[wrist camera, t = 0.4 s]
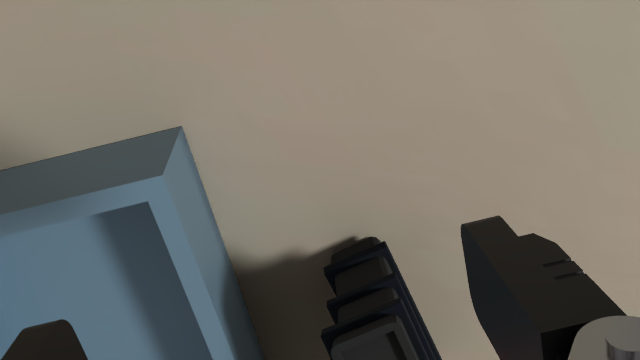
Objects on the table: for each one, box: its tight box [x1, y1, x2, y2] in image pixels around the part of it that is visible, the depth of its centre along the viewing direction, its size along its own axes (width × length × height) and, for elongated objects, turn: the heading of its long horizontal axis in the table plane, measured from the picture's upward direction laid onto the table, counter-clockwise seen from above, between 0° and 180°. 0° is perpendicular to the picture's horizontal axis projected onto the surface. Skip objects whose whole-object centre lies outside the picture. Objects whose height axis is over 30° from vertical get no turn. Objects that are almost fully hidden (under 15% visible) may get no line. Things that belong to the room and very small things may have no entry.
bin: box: [0, 126, 265, 360], centre depth 31 cm, size 21×14×6 cm, turn 13°
